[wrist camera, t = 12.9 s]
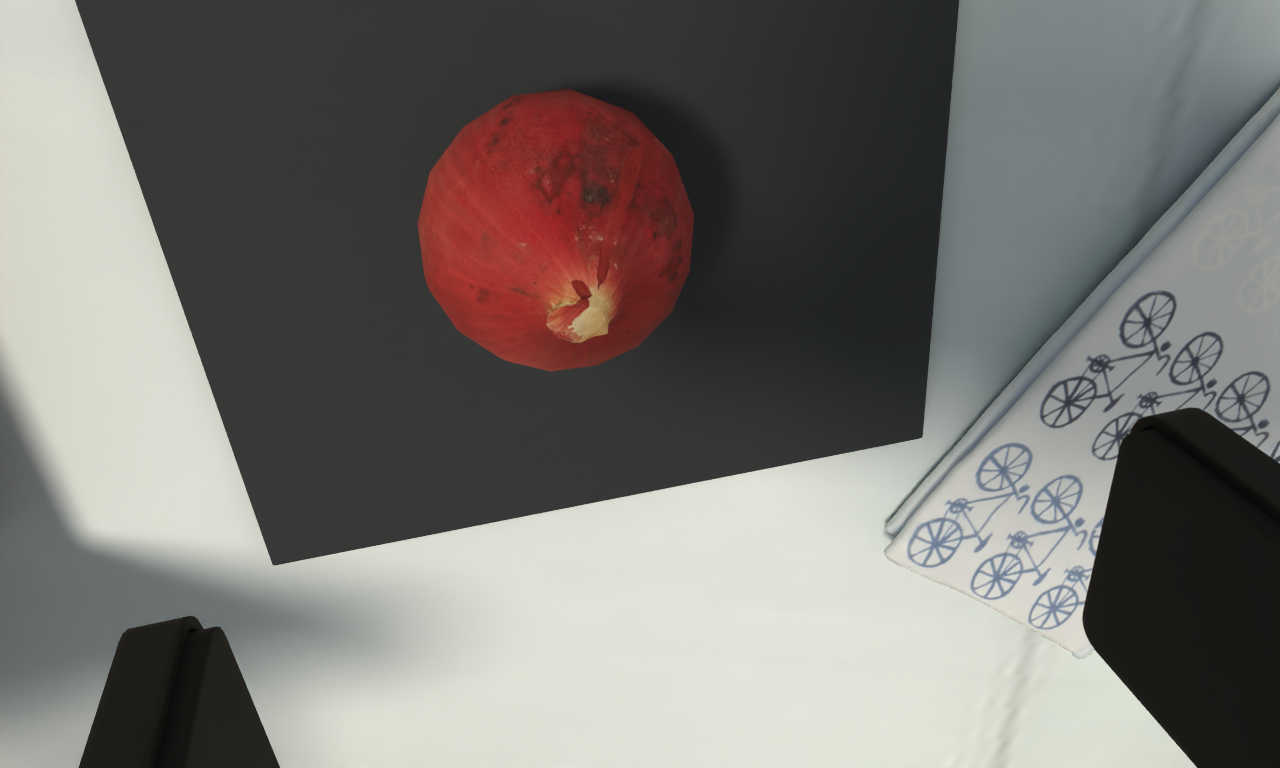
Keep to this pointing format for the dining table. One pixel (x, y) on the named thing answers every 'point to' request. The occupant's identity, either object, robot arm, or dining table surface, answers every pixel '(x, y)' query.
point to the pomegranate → (556, 230)
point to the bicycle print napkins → (1112, 397)
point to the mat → (421, 330)
